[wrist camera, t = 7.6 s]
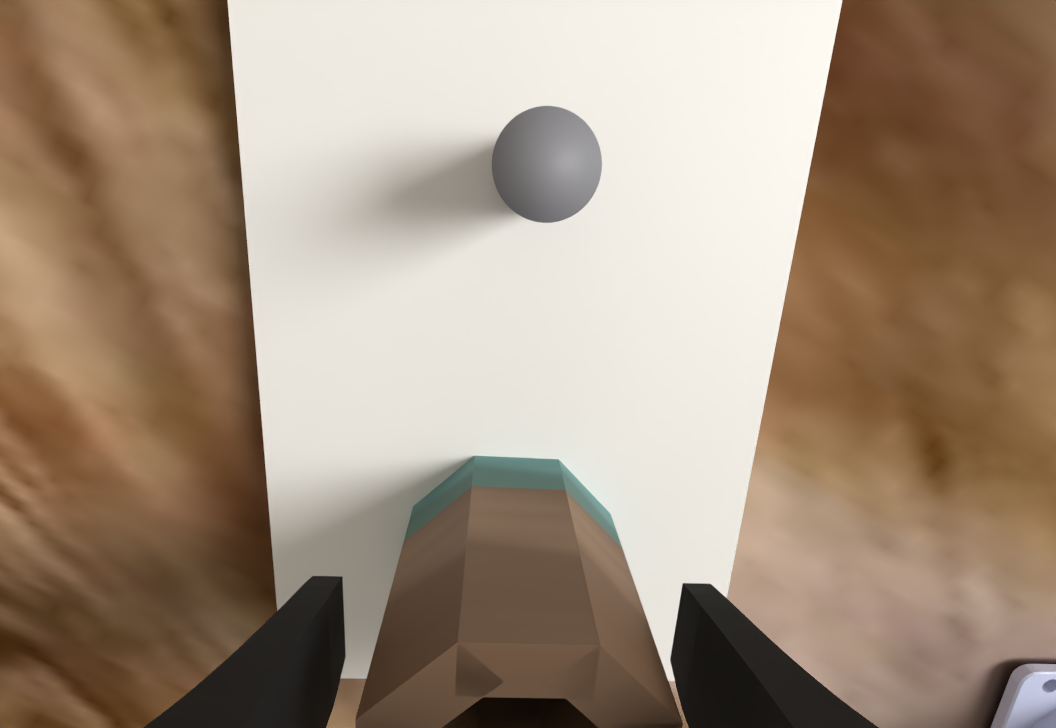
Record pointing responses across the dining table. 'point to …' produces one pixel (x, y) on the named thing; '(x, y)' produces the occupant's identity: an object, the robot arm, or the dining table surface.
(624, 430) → the pin board
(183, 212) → the dining table surface
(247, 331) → the dining table surface
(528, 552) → the sleeve
